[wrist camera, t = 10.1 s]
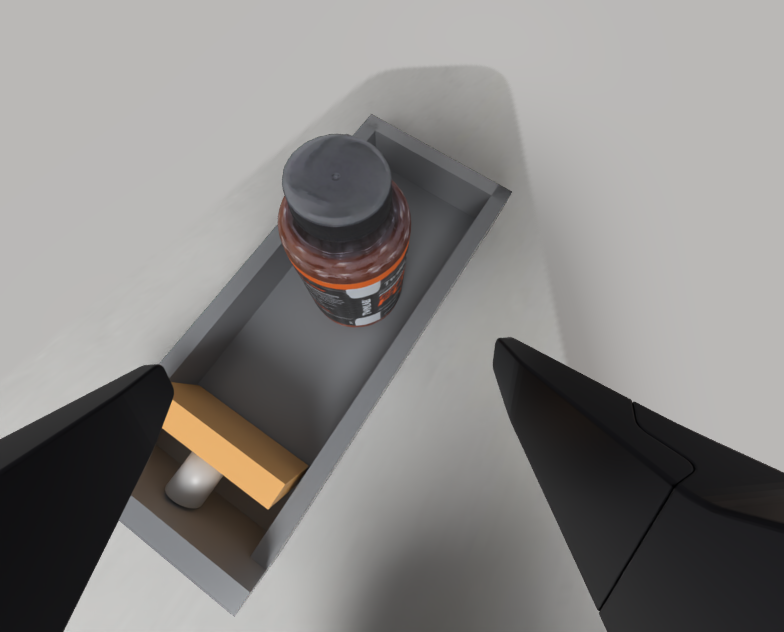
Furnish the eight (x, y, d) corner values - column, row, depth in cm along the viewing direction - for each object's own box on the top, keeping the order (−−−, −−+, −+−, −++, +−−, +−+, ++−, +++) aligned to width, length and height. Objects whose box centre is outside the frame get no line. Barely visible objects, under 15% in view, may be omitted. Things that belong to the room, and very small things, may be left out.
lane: (277, 556, 19) (234, 616, 14) (136, 445, 21) (45, 458, 15) (493, 223, 25) (524, 170, 20) (373, 154, 27) (370, 87, 21)
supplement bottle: (395, 336, 22) (407, 266, 11) (305, 322, 22) (231, 240, 11) (407, 254, 24) (427, 122, 13) (323, 242, 24) (273, 100, 13)
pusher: (266, 529, 19) (226, 570, 14) (154, 441, 20) (82, 452, 15) (308, 466, 20) (285, 484, 15) (199, 385, 21) (144, 378, 16)
